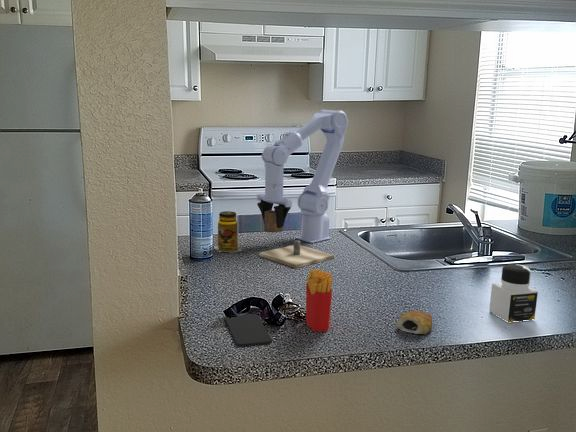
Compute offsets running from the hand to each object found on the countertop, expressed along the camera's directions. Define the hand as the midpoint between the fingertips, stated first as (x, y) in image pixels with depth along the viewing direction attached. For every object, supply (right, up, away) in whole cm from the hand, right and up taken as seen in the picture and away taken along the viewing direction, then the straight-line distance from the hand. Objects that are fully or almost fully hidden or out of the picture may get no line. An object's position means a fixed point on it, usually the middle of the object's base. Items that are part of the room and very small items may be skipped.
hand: (273, 225), depth 183 cm
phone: (-4, -21, -64) cm, 68 cm away
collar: (0, -2, 0) cm, 2 cm away
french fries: (+11, -21, -61) cm, 65 cm away
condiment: (-15, -8, -4) cm, 17 cm away
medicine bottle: (+56, -20, -53) cm, 79 cm away
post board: (+7, -9, -10) cm, 16 cm away
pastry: (+32, -21, -60) cm, 72 cm away
